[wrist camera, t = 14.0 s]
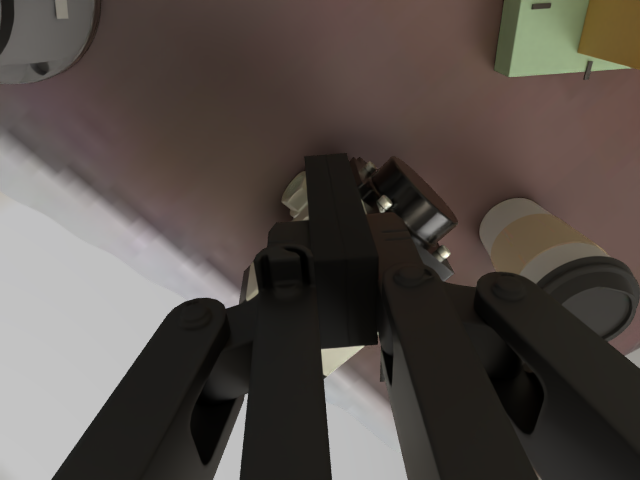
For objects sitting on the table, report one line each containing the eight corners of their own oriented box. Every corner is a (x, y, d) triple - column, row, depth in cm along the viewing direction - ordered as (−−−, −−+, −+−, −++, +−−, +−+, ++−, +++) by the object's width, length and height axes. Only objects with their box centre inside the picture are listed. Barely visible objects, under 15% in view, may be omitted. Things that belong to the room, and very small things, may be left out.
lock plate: (492, 77, 38) (507, 85, 35) (515, -81, 32) (536, -86, 29) (638, 66, 38) (664, 73, 35) (687, -93, 32) (723, -99, 29)
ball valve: (356, 102, 38) (398, 185, 23) (418, 161, 41) (492, 267, 26) (235, 236, 45) (207, 369, 30) (298, 278, 48) (301, 417, 33)
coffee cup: (518, 271, 49) (598, 374, 36) (452, 246, 47) (513, 347, 34) (571, 205, 45) (682, 296, 32) (502, 174, 43) (592, 259, 30)
